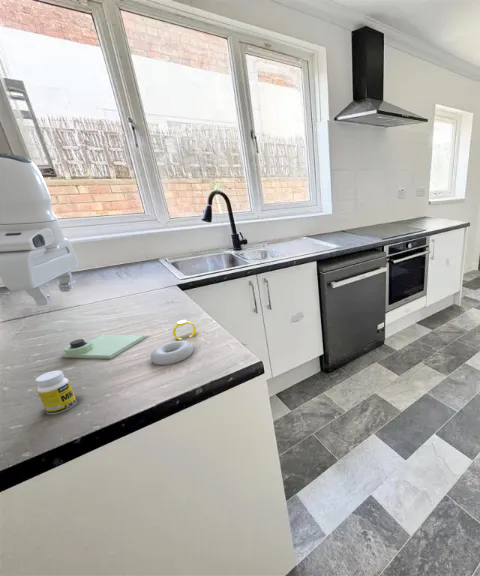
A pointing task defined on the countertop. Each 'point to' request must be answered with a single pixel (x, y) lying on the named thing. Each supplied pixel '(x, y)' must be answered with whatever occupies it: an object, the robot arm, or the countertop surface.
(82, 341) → the button
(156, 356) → the donut
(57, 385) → the supplement bottle
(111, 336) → the scale
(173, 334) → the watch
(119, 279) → the countertop surface
